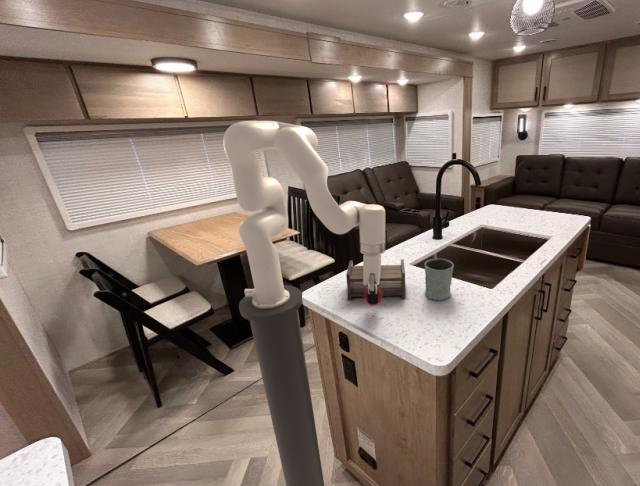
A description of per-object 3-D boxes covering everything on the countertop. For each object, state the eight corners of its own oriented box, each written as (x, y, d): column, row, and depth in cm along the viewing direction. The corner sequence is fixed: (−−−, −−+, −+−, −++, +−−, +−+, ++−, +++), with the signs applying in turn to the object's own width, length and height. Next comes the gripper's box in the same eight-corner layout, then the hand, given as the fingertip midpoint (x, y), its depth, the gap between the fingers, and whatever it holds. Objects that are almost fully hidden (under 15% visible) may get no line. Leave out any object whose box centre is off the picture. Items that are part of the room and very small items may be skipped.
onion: (385, 305, 104) (386, 284, 101) (372, 312, 100) (372, 290, 97) (374, 298, 108) (374, 277, 105) (360, 305, 104) (360, 283, 101)
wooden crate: (348, 300, 112) (346, 274, 108) (351, 284, 123) (349, 260, 119) (405, 298, 113) (405, 273, 109) (403, 283, 124) (403, 259, 120)
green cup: (424, 301, 111) (425, 270, 107) (422, 287, 121) (423, 257, 116) (453, 301, 111) (455, 270, 106) (449, 287, 120) (451, 257, 116)
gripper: (362, 236, 104) (363, 285, 111) (357, 258, 88) (359, 313, 95) (385, 236, 104) (385, 285, 111) (385, 258, 88) (384, 313, 95)
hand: (373, 297), depth 103 cm, fingers closed on onion, 5 cm apart
